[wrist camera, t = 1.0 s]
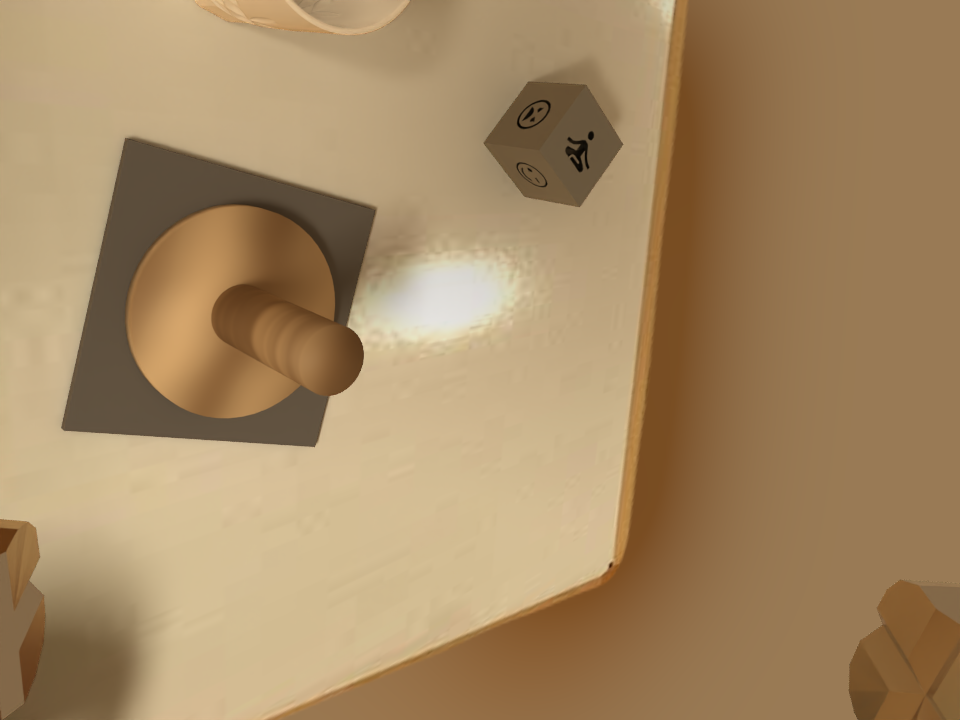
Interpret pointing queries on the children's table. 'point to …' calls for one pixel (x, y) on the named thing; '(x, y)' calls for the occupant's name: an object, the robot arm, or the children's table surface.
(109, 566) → the children's table surface
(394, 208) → the children's table surface
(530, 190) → the dice cube
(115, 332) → the mat
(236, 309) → the lid
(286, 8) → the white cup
